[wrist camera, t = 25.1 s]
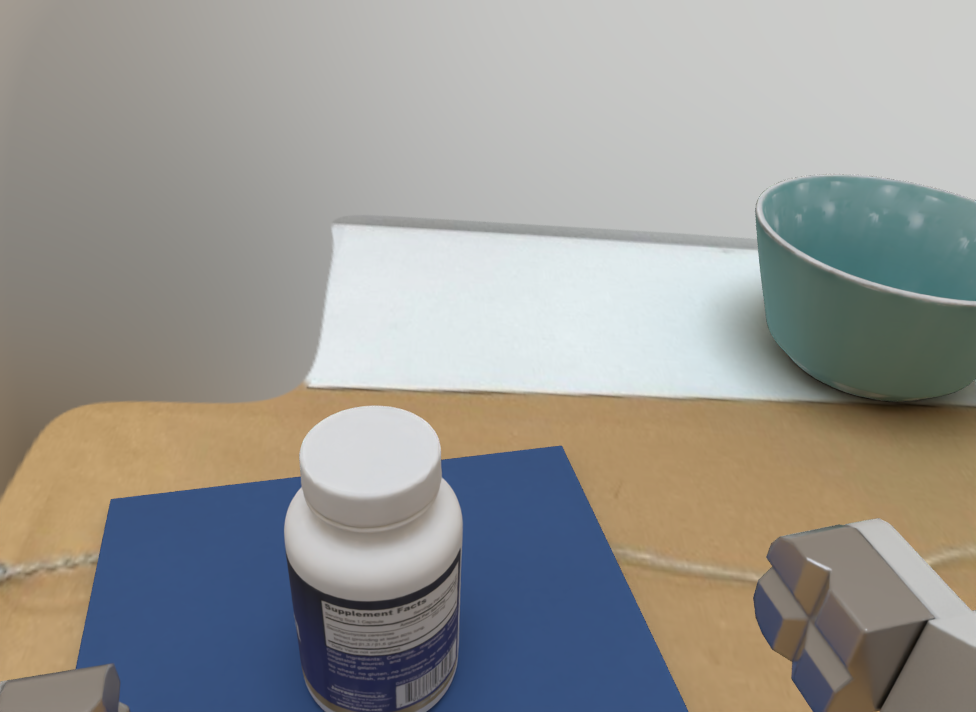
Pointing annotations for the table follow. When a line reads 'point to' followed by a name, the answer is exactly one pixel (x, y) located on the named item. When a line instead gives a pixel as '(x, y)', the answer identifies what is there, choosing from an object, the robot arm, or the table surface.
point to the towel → (270, 616)
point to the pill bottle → (375, 563)
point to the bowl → (871, 283)
